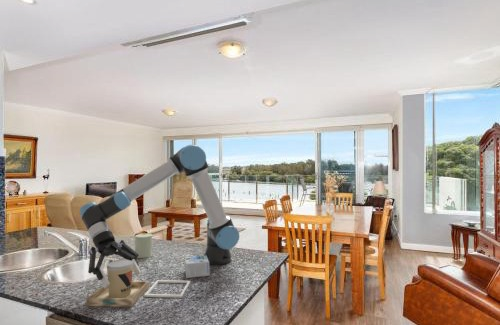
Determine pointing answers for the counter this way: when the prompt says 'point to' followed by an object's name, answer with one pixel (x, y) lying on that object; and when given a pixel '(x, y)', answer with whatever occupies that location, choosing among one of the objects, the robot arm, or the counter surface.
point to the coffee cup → (120, 278)
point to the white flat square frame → (167, 294)
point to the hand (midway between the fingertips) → (123, 280)
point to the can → (143, 245)
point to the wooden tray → (103, 298)
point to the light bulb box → (196, 266)
